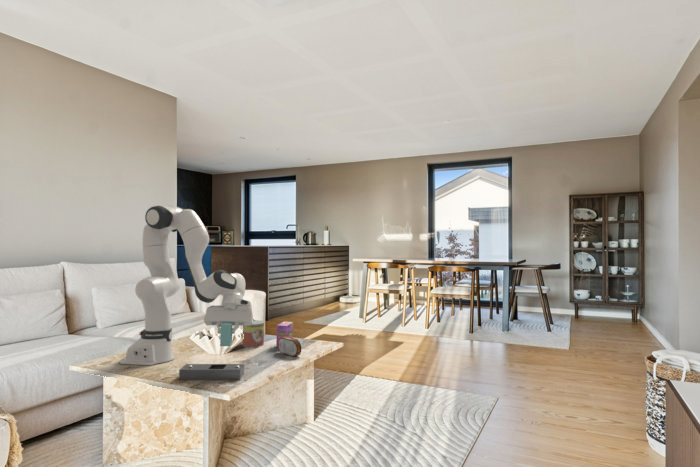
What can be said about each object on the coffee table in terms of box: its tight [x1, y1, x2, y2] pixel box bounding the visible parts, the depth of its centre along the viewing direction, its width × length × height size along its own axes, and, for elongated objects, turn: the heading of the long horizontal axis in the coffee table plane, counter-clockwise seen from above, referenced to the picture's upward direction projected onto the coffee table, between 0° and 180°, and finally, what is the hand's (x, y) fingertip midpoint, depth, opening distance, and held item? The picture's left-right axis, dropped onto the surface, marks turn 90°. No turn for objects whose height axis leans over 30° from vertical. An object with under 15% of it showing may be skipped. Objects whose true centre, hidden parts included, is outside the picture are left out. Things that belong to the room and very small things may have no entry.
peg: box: [219, 323, 234, 347], centre depth 176 cm, size 4×4×9 cm
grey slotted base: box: [178, 363, 245, 381], centre depth 172 cm, size 24×8×4 cm, turn 93°
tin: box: [278, 336, 302, 357], centre depth 206 cm, size 15×3×8 cm, turn 48°
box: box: [275, 321, 294, 349], centre depth 224 cm, size 10×6×12 cm, turn 168°
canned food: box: [242, 319, 265, 348], centre depth 225 cm, size 11×11×12 cm
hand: (226, 332), depth 176 cm, fingers closed on peg, 4 cm apart
